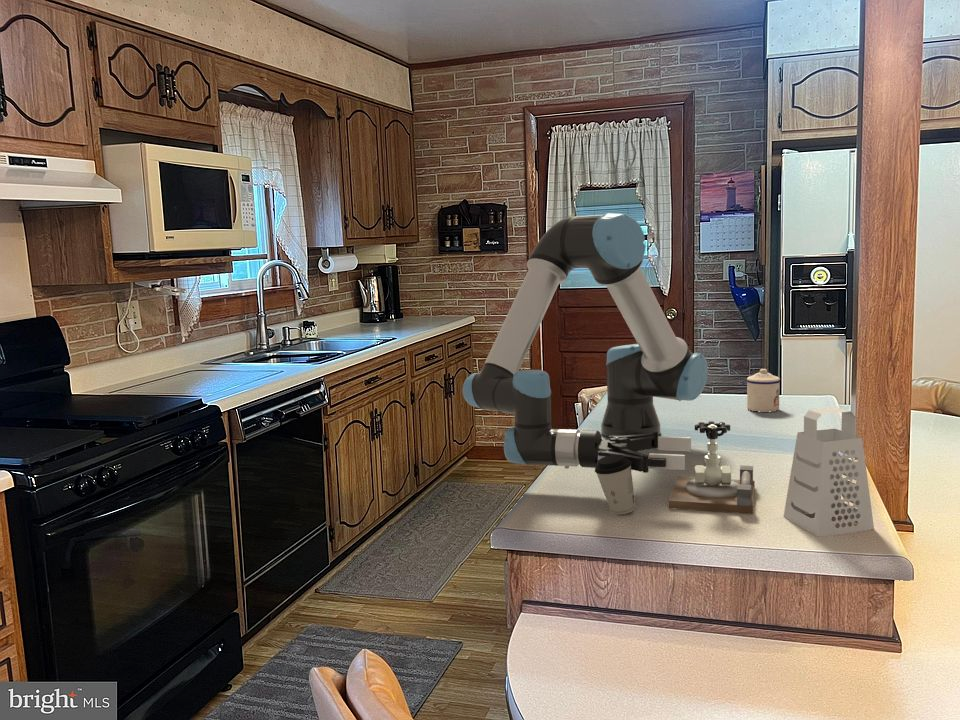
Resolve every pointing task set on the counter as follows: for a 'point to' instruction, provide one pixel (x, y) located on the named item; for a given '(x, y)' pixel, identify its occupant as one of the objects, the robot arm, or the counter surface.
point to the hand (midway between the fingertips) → (688, 453)
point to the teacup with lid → (763, 392)
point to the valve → (712, 457)
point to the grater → (828, 477)
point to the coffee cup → (616, 483)
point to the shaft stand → (715, 494)
